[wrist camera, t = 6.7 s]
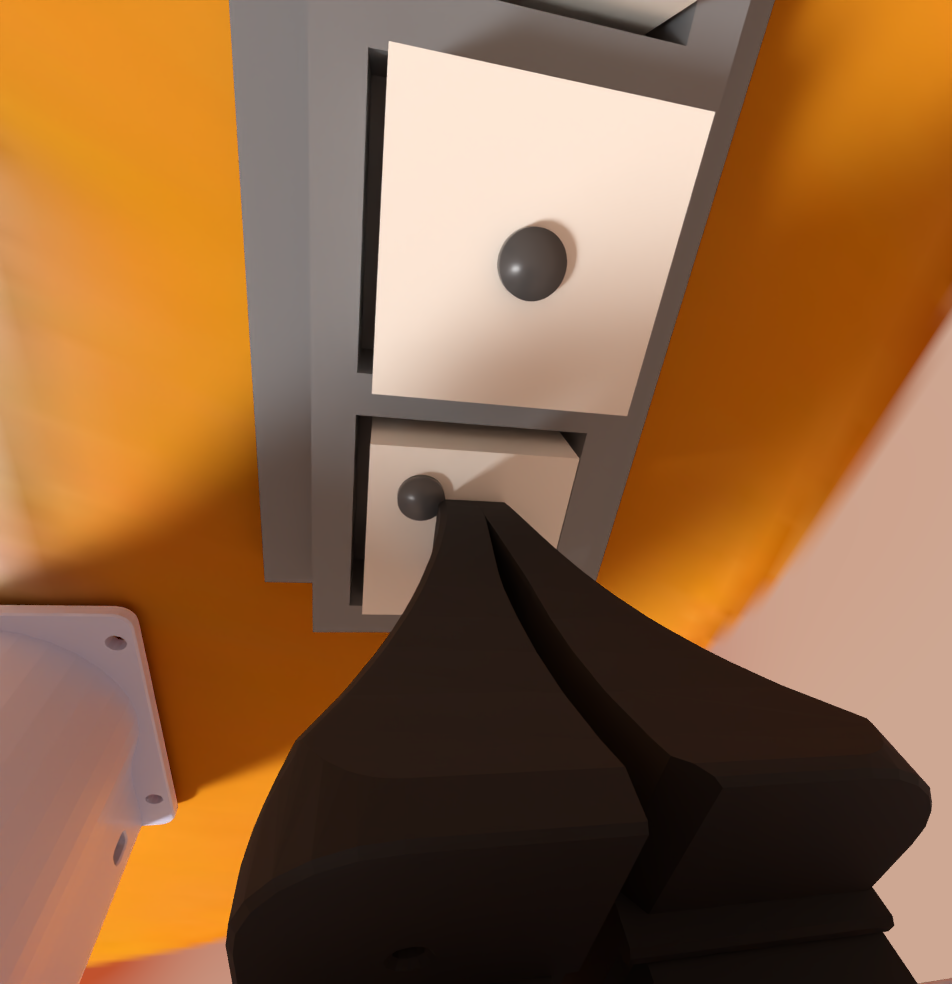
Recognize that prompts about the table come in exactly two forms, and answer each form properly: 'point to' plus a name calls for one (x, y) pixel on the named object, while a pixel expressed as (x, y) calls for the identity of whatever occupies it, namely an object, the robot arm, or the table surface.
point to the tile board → (355, 246)
